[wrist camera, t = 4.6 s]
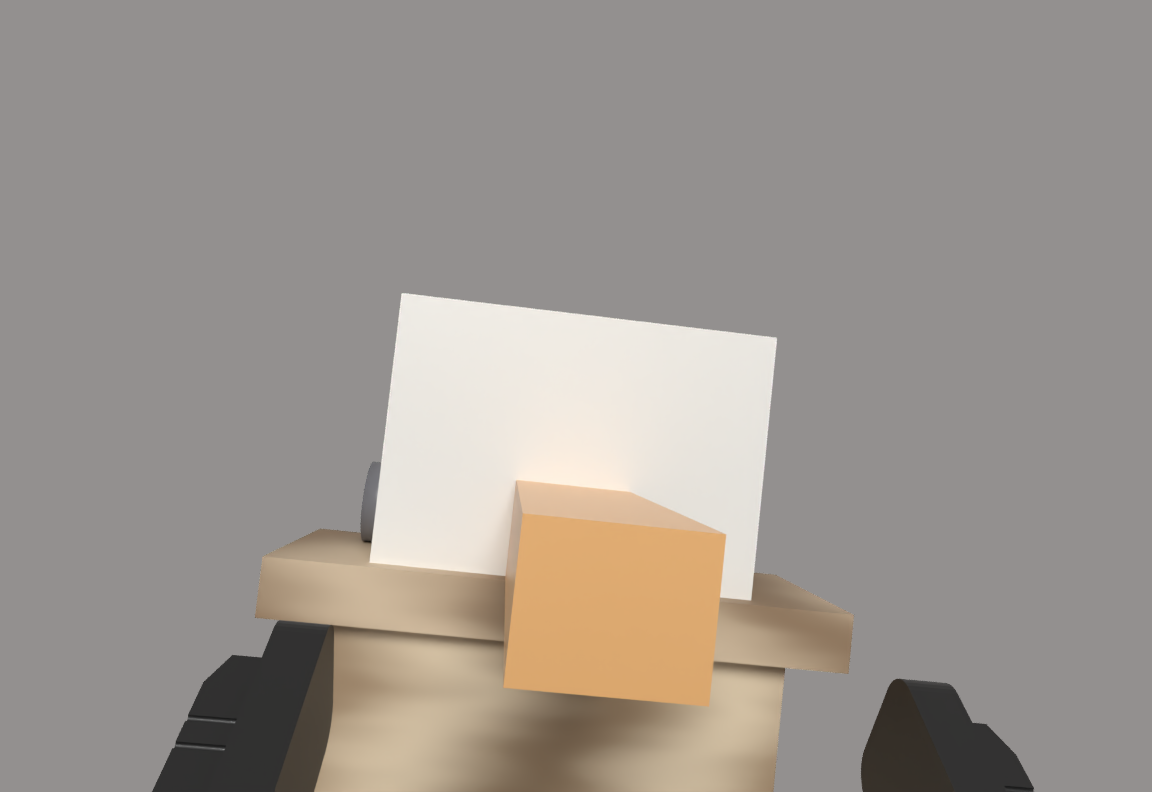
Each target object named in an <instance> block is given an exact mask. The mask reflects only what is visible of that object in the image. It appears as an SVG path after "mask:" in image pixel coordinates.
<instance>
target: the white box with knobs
mask: <svg viewBox="0 0 1152 792" xmlns="http://www.w3.org/2000/svg"><path fill="white" fill-rule="evenodd" d="M776 342H777V338H774V337H766V336H757V335H749V334H741V333H732V332H724V331H715V330H706V329H699V328H690V327H682V326H674V325H665V324H656V323H648V322H640V321H631V320H623V319H615V318H606V317H598V316H589V315H581V314H573V313H565V312H556V311H548V310H539V309H530V308H523V307H514V306H505V305H497V304H489V303H480V302H472V301H463V300H456V299H447V298H438V297H430V296H422V295H414V294H405V293H402V295H401V304H400V312H399V321H398V329H397V337H396V345H395V354H394V362H393V370H392V379H391V387H390V396H389V404H388V412H387V420H386V428H385V437H384V445H383V454H382V462H381V463H380V462H372V464H371V466H370V468H369V471H368V475H367V479H366V484H365V489H364V495H363V503H362V512H361V539H362V541H366V542H372V545H371V553H370V561H369V563H379V564H389V565H399V566H409V567H419V568H429V569H439V570H449V571H459V572H469V573H480V574H490V575H500V576H505V623H504V673H503V688H510V689H521V690H532V691H543V692H554V693H565V694H576V695H587V696H598V697H609V698H620V699H631V700H642V701H653V702H664V703H675V704H686V705H697V706H707V707H709V702H710V692H711V682H712V672H713V662H714V652H715V642H716V632H717V622H718V612H719V602H720V597H721V598H731V599H741V600H751V597H752V587H753V576H754V566H755V556H756V546H757V536H758V525H759V515H760V505H761V495H762V484H763V474H764V464H765V454H766V443H767V433H768V423H769V412H770V403H771V393H772V382H773V372H774V363H775V362H774V361H775V352H776Z"/></svg>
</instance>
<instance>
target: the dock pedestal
mask: <svg viewBox="0 0 1152 792" xmlns="http://www.w3.org/2000/svg"><path fill="white" fill-rule="evenodd" d="M371 545H372V542H366V541H362V539H361V533H357V532H347V531H338V530H327V529H319V530H317V531H315V532H312V533H310V534H308V535H306V536H304V537H302V538H300V539H298V540H296V541H294V542H292V543H290V544H288V545H286V546H284V547H281V548H279V549H277V550H275V551H273V552H271V553H269V554H267V555H265V556H263V558H262V566H261V574H260V583H259V590H258V598H257V606H256V614H255V618H264V619H274V620H285V621H295V622H306V623H317V624H328V625H333V628H334V679H333V712H332V721H331V728H330V733H329V739H328V743H327V748H326V752H325V755H324V759H323V762H322V766H321V769H320V773H319V776H318V780H317V783H316V787H315V790H314V792H773V789H774V778H775V768H776V757H777V747H778V736H779V725H780V715H781V704H782V695H783V684H784V673H785V668H793V669H803V670H813V671H824V672H835V673H845V674H848V672H849V662H850V651H851V639H852V629H853V618H854V615H853V614H851V613H849V612H847V611H845V610H843V609H841V608H839V607H837V606H835V605H833V604H831V603H829V602H827V601H825V600H823V599H821V598H820V597H818V596H816V595H814V594H812V593H810V592H808V591H806V590H804V589H802V588H800V587H798V586H796V585H794V584H792V583H790V582H788V581H786V580H784V579H782V578H780V577H778V576H777V575H771V574H761V573H754V576H753V587H752V597H751V600H741V599H731V598H721V597H720V602H719V612H718V622H717V632H716V642H715V652H714V662H713V672H712V682H711V692H710V702H709V707H707V706H697V705H686V704H675V703H664V702H653V701H642V700H631V699H620V698H609V697H598V696H587V695H576V694H565V693H554V692H543V691H532V690H521V689H510V688H503V673H504V623H505V576H500V575H490V574H480V573H469V572H459V571H449V570H439V569H429V568H419V567H409V566H399V565H389V564H379V563H369V561H370V553H371Z"/></svg>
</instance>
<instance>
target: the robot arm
mask: <svg viewBox="0 0 1152 792" xmlns="http://www.w3.org/2000/svg"><path fill="white" fill-rule="evenodd" d="M333 679H334V628H333V625H328V624H317V623H306V622H295V621H285V620H279V621H278V622H277V623H276V625H275V627H274V629H273V631H272V634H271V636H270V639H269V641H268V644H267V646H266V649H265V651H264V654H263V656H262V658H259V657H248V656H237V655H232V656H231V657H230V658H229V659H228V660H227V661H226V662H225V663H224V664H223V665H221V666H220V668H218V669H217V670H216V671H215V672H214V673H213V674H212V675H211V676H210V677H208V678H207V679H206V681H204V682H203V685H202V687H201V689H200V691H199V693H198V695H197V697H196V699H195V701H194V704H193V706H192V708H191V710H190V712H189V714H188V720H187V721H185V723H184V725H183V727H182V729H181V732H180V733H179V736H178V738H177V740H176V745H175V748H173V749H172V750H171V753H170V755H169V757H168V759H167V761H166V763H165V765H164V768H163V770H162V772H161V774H160V776H159V778H158V780H157V782H156V785H155V787H154V789H153V791H152V792H314V790H315V787H316V783H317V780H318V776H319V773H320V769H321V766H322V762H323V759H324V755H325V752H326V748H327V743H328V739H329V733H330V728H331V721H332V712H333ZM861 780H862V789H863V792H1033V789H1034V787H1033V786H1032V784H1031V782H1030V780H1029V778H1028V776H1027V774H1026V773H1025V771H1024V769H1023V767H1022V765H1021V763H1020V761H1019V760H1018V758H1017V756H1016V754H1014V752H1013V751H1012V750H1011V749H1010V748H1009V747H1008V746H1007V745H1006V744H1005V743H1004V742H1003V741H1002V740H1001V739H1000V738H999V737H998V736H997V735H996V734H995V733H994V732H993V731H992V730H991V729H990V728H989V727H988V726H987V725H986V724H979V723H972V721H971V720H970V717H969V716H968V714H967V712H966V710H965V708H964V706H963V704H962V702H961V700H960V698H959V696H958V694H957V692H956V690H955V689H954V688H953V687H952V686H951V685H950V684H947V683H937V682H927V681H917V680H905V679H896V680H894V681H893V682H892V683H891V684H890V686H889V688H888V690H887V693H886V695H885V698H884V700H883V703H882V706H881V708H880V711H879V714H878V716H877V719H876V721H875V724H874V726H873V729H872V732H871V734H870V737H869V739H868V742H867V744H866V747H865V750H864V753H863V757H862V764H861Z"/></svg>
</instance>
